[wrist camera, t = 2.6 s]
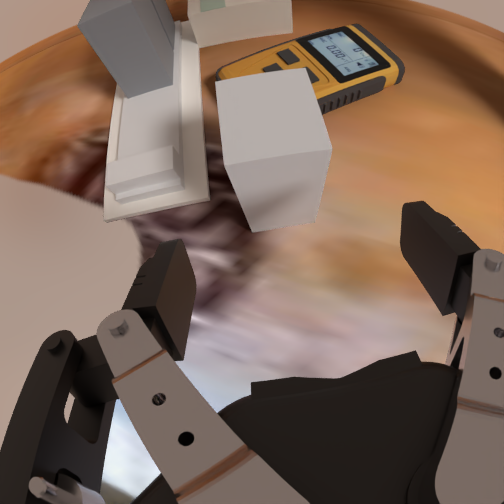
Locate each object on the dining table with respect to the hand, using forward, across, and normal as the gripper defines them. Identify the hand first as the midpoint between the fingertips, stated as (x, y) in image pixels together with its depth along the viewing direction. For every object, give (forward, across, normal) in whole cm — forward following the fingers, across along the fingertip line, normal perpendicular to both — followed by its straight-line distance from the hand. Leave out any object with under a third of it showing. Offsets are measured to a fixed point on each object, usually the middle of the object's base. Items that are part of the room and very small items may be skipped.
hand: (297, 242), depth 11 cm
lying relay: (+27, 0, -12) cm, 29 cm away
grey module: (+12, 0, +3) cm, 12 cm away
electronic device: (+20, -5, -4) cm, 21 cm away
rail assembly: (+21, +10, -6) cm, 24 cm away
